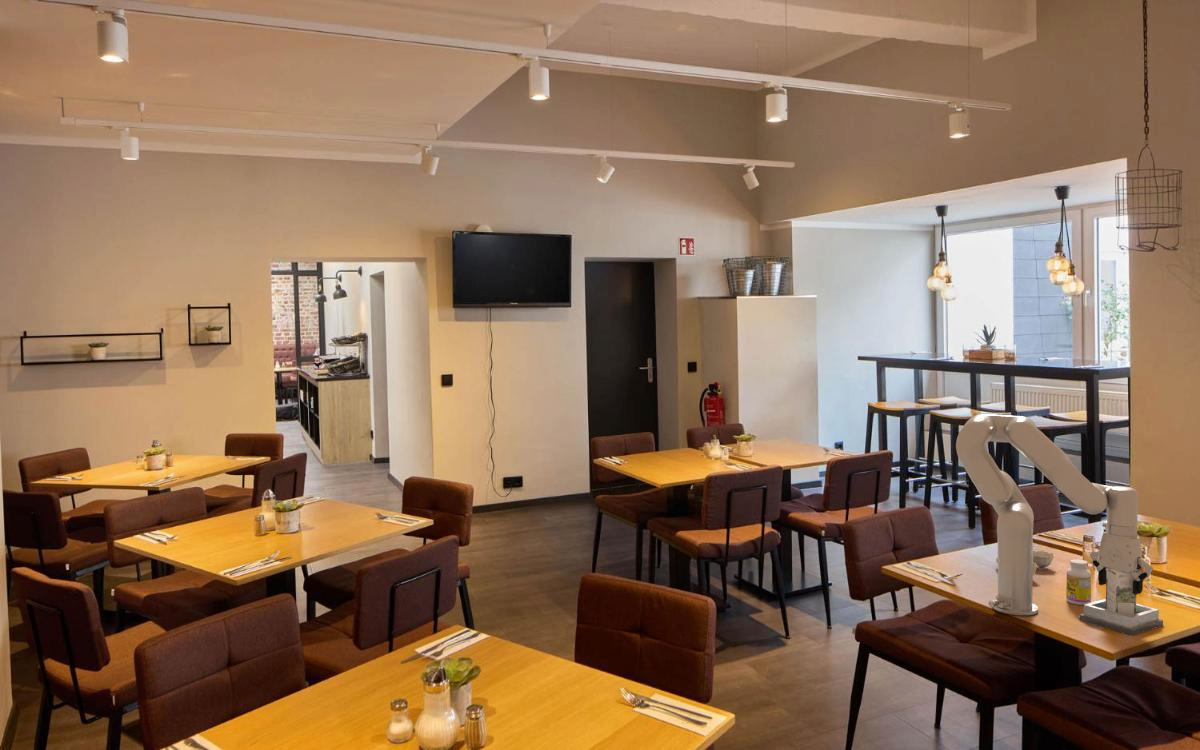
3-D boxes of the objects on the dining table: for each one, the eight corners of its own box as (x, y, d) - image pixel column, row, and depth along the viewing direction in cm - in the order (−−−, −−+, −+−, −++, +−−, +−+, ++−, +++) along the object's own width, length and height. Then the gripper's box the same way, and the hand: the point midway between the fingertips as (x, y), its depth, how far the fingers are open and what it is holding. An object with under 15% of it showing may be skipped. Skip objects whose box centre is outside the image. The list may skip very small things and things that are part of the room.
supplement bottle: (1062, 598, 267) (1062, 558, 267) (1084, 598, 267) (1084, 558, 266) (1072, 605, 261) (1073, 564, 260) (1095, 605, 260) (1095, 564, 260)
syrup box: (1125, 614, 248) (1126, 564, 247) (1136, 621, 242) (1137, 570, 241) (1105, 613, 249) (1105, 564, 248) (1115, 621, 243) (1116, 570, 242)
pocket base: (1132, 635, 236) (1132, 619, 235) (1079, 619, 249) (1079, 604, 248) (1162, 625, 243) (1163, 609, 242) (1110, 610, 256) (1110, 595, 256)
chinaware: (1037, 590, 281) (1043, 541, 279) (983, 577, 291) (989, 529, 289) (1055, 570, 303) (1061, 525, 301) (1005, 558, 313) (1010, 514, 311)
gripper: (1084, 525, 250) (1082, 582, 251) (1145, 538, 235) (1143, 599, 236) (1099, 522, 254) (1097, 579, 255) (1160, 535, 238) (1158, 595, 239)
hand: (1119, 588), depth 245 cm, fingers open, 9 cm apart
